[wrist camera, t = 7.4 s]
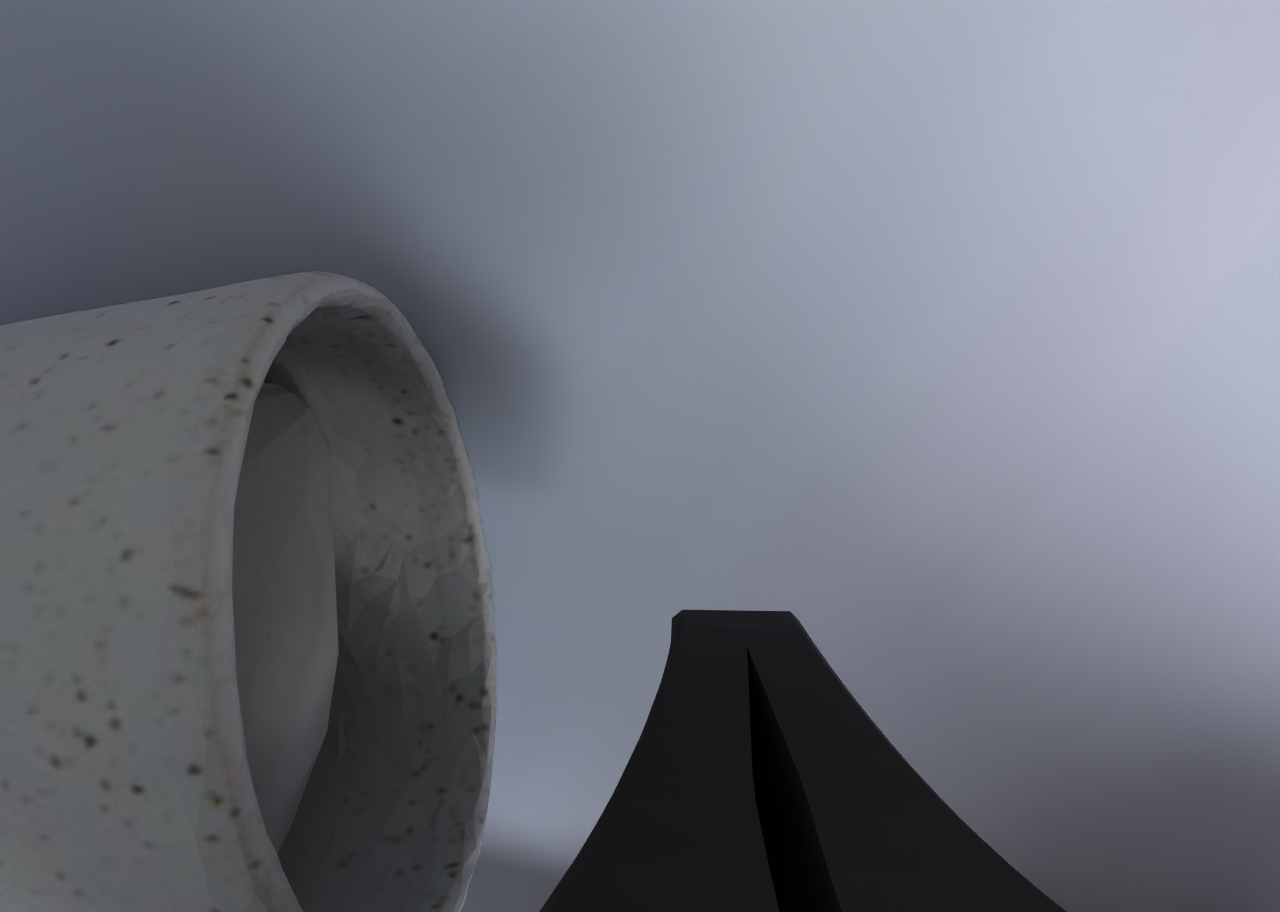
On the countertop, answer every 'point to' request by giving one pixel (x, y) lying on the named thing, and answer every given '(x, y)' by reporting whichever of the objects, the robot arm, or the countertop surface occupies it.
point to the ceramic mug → (239, 609)
